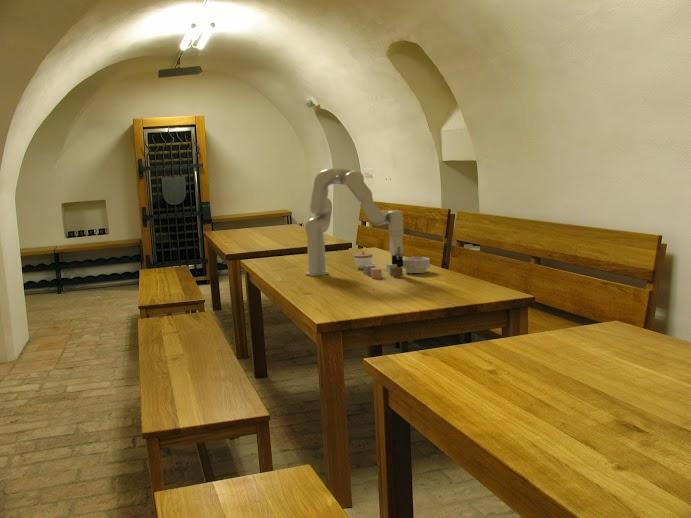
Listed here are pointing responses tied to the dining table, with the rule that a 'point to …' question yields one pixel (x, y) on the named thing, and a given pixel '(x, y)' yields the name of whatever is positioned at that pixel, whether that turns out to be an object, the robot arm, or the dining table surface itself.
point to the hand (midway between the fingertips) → (397, 265)
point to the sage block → (390, 267)
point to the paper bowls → (416, 264)
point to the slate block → (367, 269)
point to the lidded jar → (363, 259)
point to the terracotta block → (376, 273)
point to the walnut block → (396, 271)
